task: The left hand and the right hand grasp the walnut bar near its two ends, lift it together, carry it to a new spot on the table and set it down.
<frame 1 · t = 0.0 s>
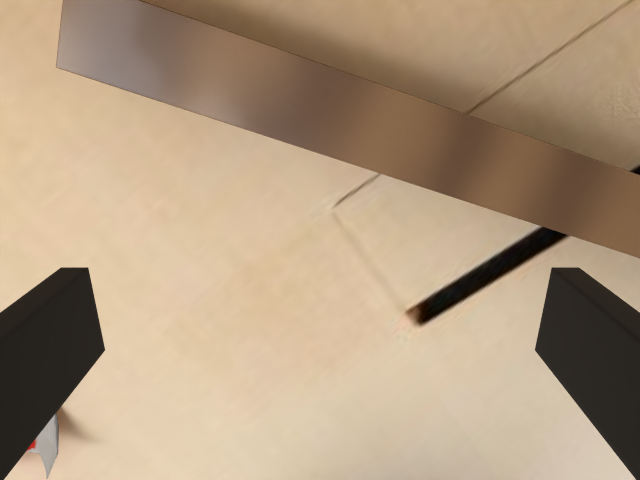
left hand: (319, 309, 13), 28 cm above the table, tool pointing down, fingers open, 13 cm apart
bar: (525, 172, 40), on the table
fish: (20, 413, 49), on the table
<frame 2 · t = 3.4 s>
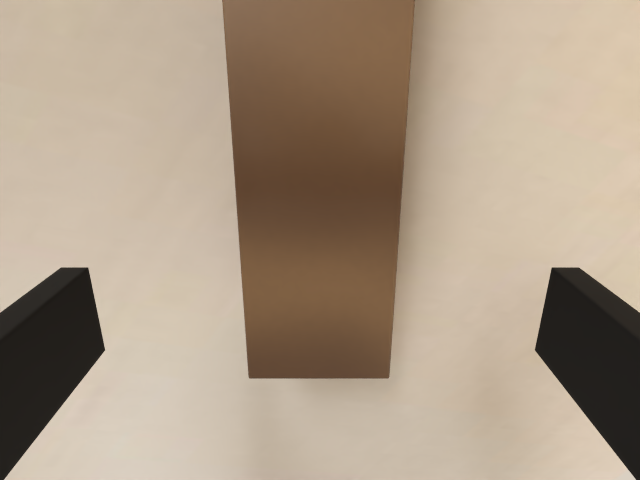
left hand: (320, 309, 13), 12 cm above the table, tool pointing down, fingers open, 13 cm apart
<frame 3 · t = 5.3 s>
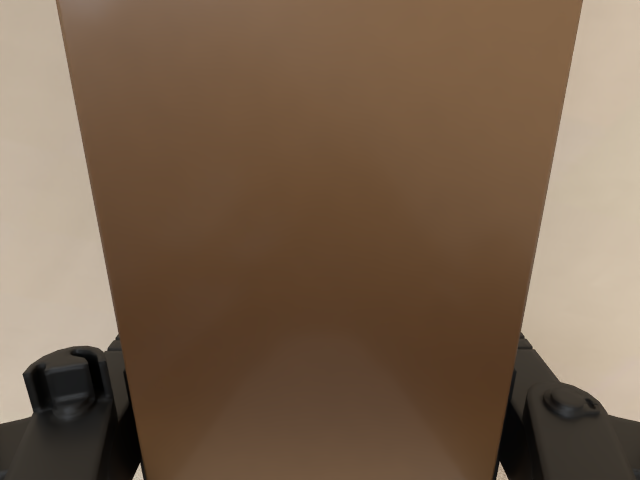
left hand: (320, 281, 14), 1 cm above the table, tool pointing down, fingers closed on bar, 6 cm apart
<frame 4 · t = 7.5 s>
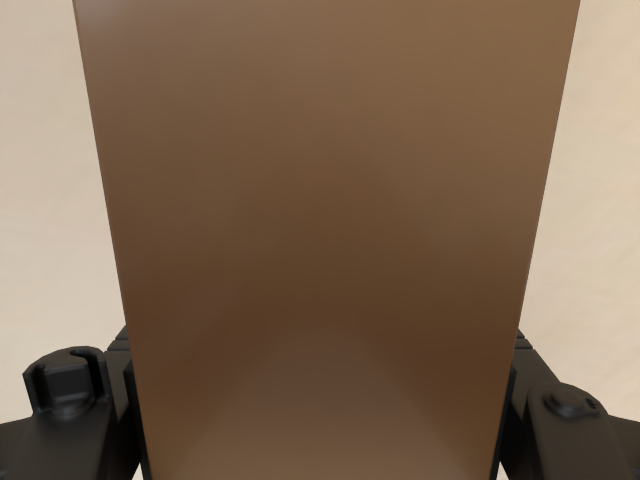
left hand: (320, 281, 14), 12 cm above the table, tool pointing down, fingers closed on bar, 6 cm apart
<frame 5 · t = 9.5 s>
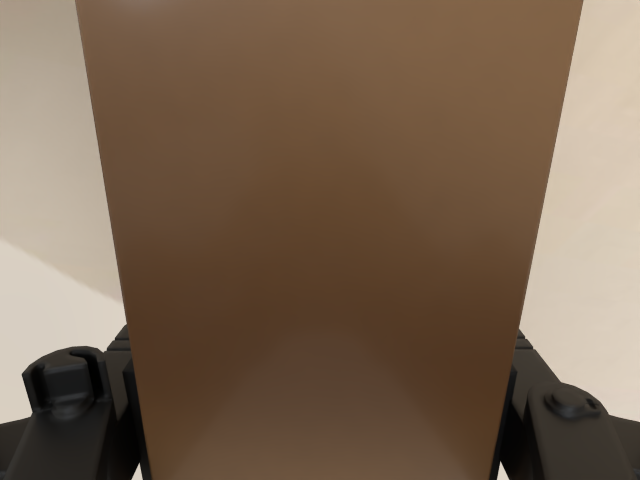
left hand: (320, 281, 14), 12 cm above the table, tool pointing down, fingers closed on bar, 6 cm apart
when the left hand's fingers open (2 cm above the table, at t = 11.4 s): bar drops 2 cm, held by the right hand.
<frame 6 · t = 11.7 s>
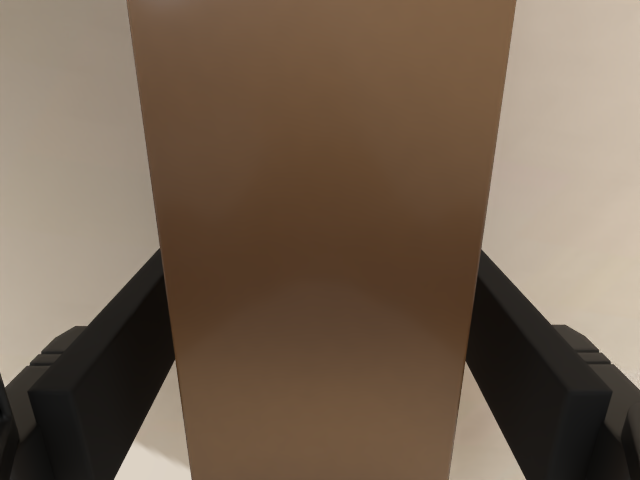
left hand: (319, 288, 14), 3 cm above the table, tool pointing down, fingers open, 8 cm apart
when the right hand's fingers open (5 cm above the table, at t = 11.7 s): bar stays where it is, on the table.
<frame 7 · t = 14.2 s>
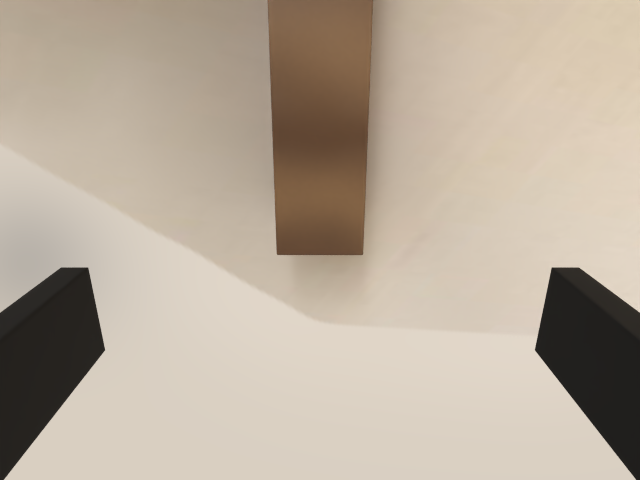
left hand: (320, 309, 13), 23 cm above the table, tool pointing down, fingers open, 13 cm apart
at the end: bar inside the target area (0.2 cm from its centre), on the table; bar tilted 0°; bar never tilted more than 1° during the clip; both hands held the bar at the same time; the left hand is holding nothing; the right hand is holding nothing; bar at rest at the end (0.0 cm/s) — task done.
